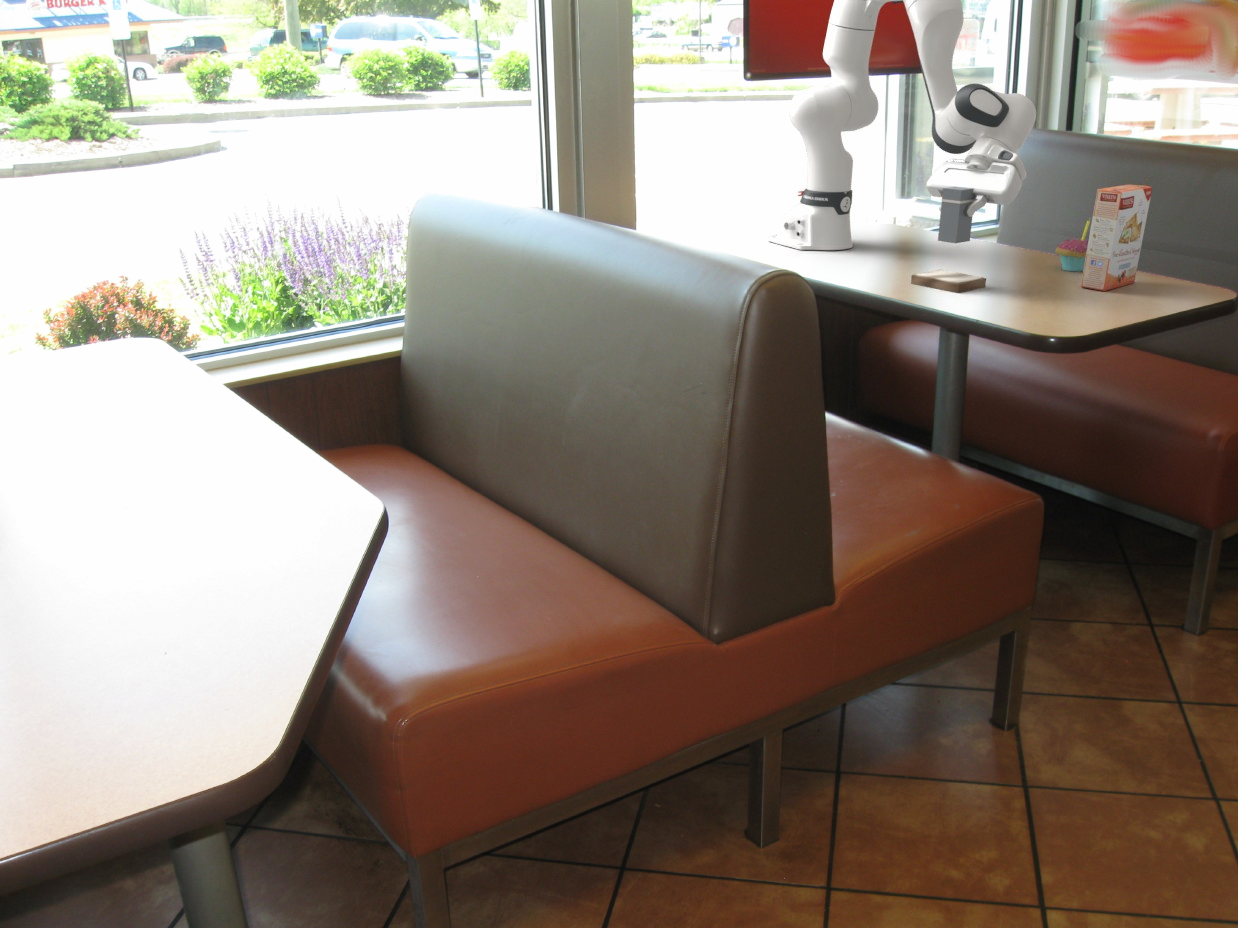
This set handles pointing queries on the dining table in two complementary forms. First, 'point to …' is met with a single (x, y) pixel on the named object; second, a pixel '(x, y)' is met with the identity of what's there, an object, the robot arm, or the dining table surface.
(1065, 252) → the cupcake
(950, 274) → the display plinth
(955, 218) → the grey upright pillar block
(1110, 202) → the cracker box
